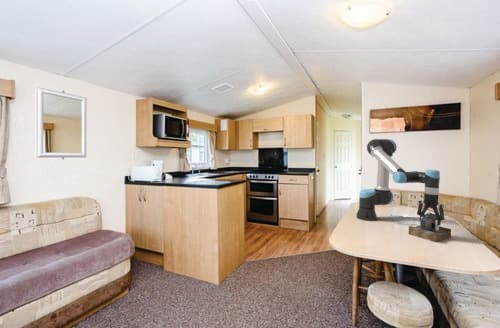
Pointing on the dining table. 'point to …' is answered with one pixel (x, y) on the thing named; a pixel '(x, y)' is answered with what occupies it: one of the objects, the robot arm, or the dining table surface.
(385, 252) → the dining table surface
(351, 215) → the dining table surface
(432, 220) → the camera
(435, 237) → the display plinth
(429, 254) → the dining table surface
